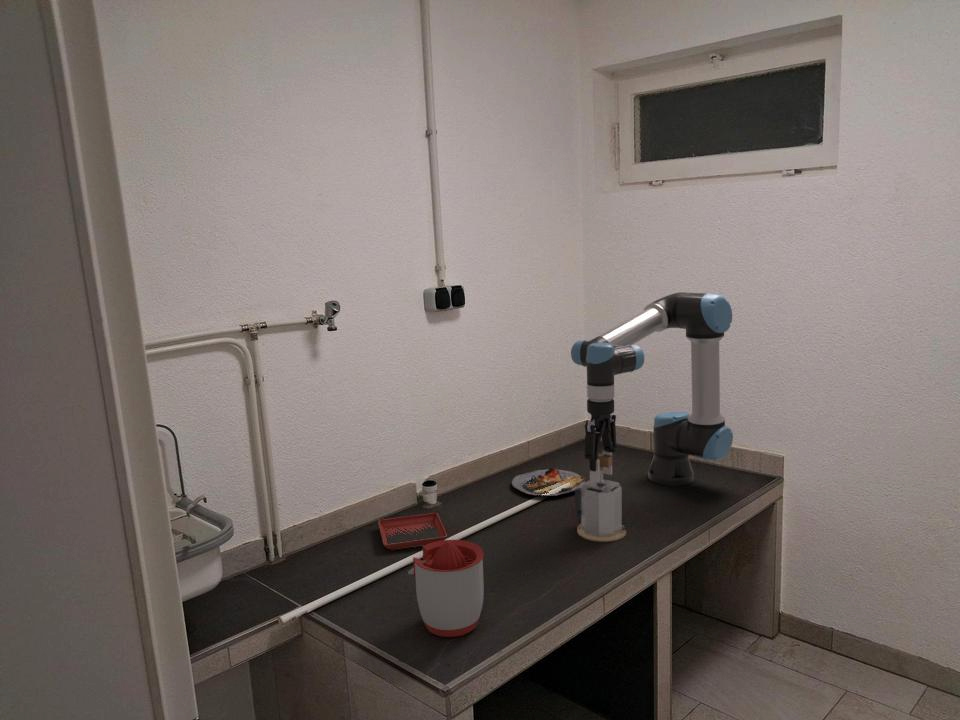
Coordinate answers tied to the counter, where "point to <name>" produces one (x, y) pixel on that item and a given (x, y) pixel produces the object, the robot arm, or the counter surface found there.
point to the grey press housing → (600, 511)
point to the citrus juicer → (449, 586)
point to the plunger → (604, 462)
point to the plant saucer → (412, 523)
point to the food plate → (549, 481)
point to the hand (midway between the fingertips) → (601, 477)
